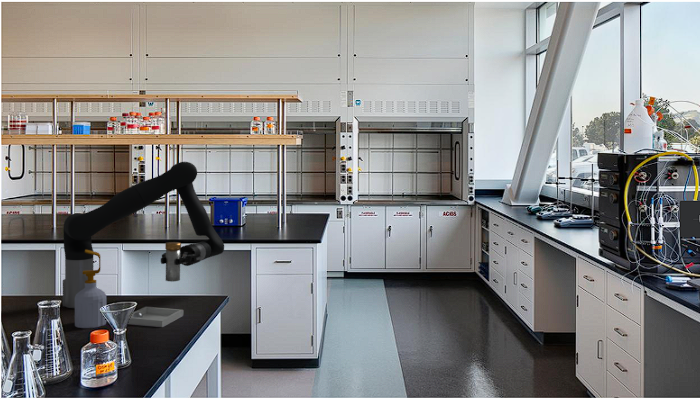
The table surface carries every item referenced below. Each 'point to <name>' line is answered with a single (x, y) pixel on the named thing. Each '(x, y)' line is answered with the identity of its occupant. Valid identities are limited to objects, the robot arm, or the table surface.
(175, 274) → the shaker
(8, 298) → the table surface
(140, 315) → the ball
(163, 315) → the tray
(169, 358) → the table surface
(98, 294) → the soap bottle
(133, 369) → the table surface
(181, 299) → the table surface
